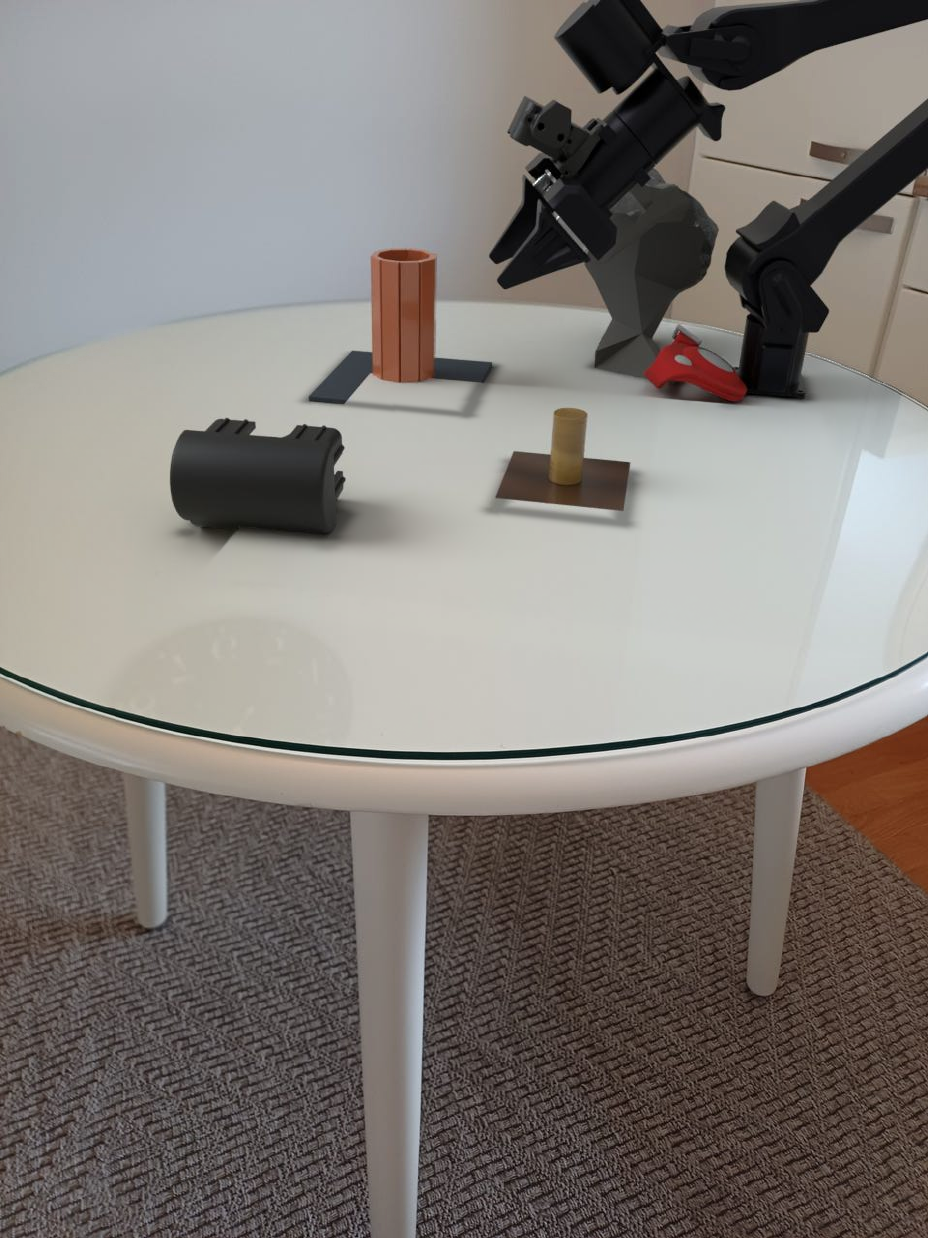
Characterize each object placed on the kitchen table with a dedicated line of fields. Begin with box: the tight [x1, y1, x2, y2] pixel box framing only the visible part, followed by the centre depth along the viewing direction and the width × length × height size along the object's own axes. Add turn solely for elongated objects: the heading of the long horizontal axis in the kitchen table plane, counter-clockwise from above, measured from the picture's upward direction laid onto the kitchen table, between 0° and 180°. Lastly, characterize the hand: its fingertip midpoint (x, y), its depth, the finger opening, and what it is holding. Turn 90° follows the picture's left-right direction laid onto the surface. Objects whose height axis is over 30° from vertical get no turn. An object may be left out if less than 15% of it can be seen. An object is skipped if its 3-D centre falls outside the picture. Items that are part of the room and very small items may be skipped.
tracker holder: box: [644, 323, 747, 403], centre depth 100 cm, size 12×4×10 cm
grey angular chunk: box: [584, 167, 720, 385], centre depth 106 cm, size 14×15×18 cm
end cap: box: [169, 417, 347, 535], centre depth 71 cm, size 10×7×7 cm
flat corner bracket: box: [308, 350, 493, 405], centre depth 100 cm, size 14×14×1 cm
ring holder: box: [494, 407, 631, 512], centre depth 78 cm, size 9×9×6 cm
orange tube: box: [370, 247, 438, 384], centre depth 97 cm, size 6×6×11 cm
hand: (495, 272), depth 95 cm, fingers open, 9 cm apart
